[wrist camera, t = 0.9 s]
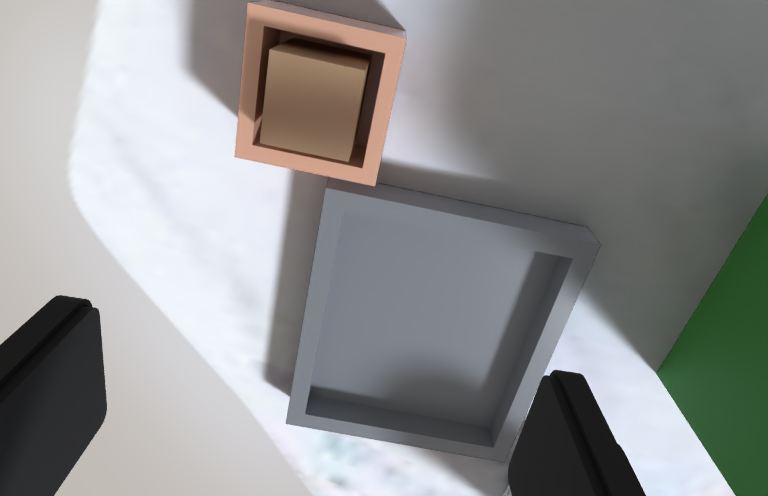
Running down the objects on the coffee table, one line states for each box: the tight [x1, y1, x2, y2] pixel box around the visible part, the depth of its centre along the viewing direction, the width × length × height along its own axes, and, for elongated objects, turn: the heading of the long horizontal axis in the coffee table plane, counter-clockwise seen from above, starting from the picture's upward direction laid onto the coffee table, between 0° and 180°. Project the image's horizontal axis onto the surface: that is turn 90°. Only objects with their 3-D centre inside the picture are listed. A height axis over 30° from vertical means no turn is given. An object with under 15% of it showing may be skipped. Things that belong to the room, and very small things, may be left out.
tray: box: [286, 177, 601, 463], centre depth 35 cm, size 18×16×2 cm
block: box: [260, 37, 372, 162], centre depth 26 cm, size 4×4×6 cm
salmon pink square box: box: [235, 0, 407, 186], centre depth 27 cm, size 7×7×4 cm
